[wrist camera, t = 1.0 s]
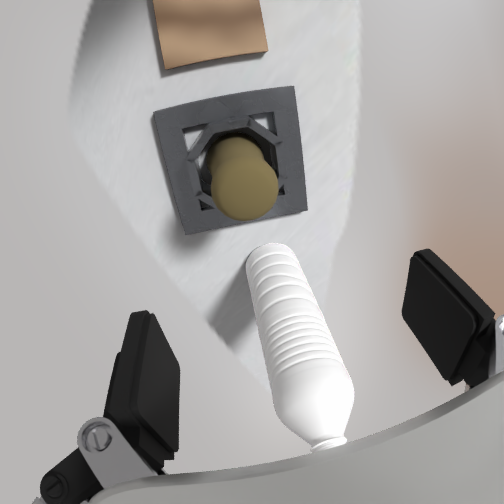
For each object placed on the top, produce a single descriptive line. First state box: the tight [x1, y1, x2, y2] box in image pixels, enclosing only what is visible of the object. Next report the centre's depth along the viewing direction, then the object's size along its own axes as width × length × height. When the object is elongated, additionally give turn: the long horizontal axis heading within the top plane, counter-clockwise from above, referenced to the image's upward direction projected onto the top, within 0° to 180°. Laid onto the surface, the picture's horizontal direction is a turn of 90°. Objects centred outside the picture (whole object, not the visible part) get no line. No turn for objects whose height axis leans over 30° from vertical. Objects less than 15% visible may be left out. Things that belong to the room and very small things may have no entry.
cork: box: [206, 132, 279, 221], centre depth 26 cm, size 6×6×11 cm
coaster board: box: [153, 0, 268, 70], centre depth 22 cm, size 10×10×1 cm
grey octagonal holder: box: [153, 86, 308, 235], centre depth 29 cm, size 14×14×4 cm
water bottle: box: [246, 243, 354, 453], centre depth 28 cm, size 9×6×25 cm
